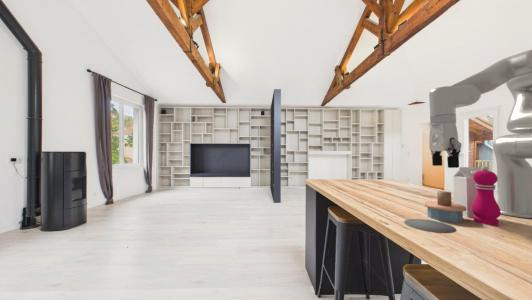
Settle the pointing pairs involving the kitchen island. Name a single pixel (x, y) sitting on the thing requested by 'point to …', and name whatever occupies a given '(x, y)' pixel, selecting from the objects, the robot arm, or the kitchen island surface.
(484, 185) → the pepper mill
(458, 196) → the milk carton
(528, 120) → the robot arm
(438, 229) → the round mat
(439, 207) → the lid
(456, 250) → the kitchen island surface
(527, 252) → the kitchen island surface
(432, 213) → the bowl
